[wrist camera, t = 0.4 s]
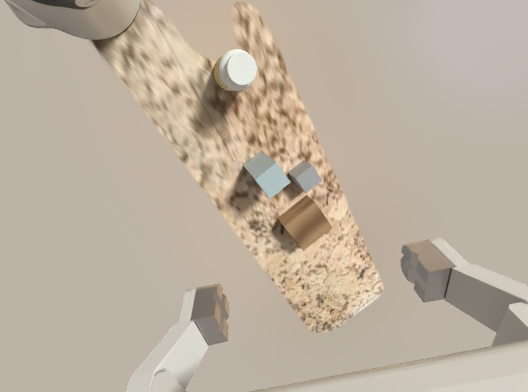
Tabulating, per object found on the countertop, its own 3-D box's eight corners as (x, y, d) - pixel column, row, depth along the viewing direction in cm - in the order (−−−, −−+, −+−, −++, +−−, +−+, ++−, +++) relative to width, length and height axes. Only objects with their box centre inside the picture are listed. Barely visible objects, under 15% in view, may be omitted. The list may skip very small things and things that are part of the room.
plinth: (277, 218, 55) (284, 227, 51) (306, 195, 55) (315, 202, 51) (296, 240, 59) (303, 250, 55) (323, 219, 59) (332, 227, 55)
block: (288, 172, 52) (295, 178, 48) (303, 160, 52) (312, 165, 48) (297, 186, 54) (305, 193, 50) (312, 174, 54) (321, 180, 50)
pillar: (243, 165, 48) (254, 179, 40) (261, 150, 48) (276, 162, 40) (256, 181, 50) (270, 198, 42) (273, 167, 50) (290, 182, 42)
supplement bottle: (209, 82, 42) (215, 80, 33) (219, 48, 40) (229, 37, 32) (239, 96, 44) (253, 97, 35) (250, 64, 42) (267, 57, 34)
